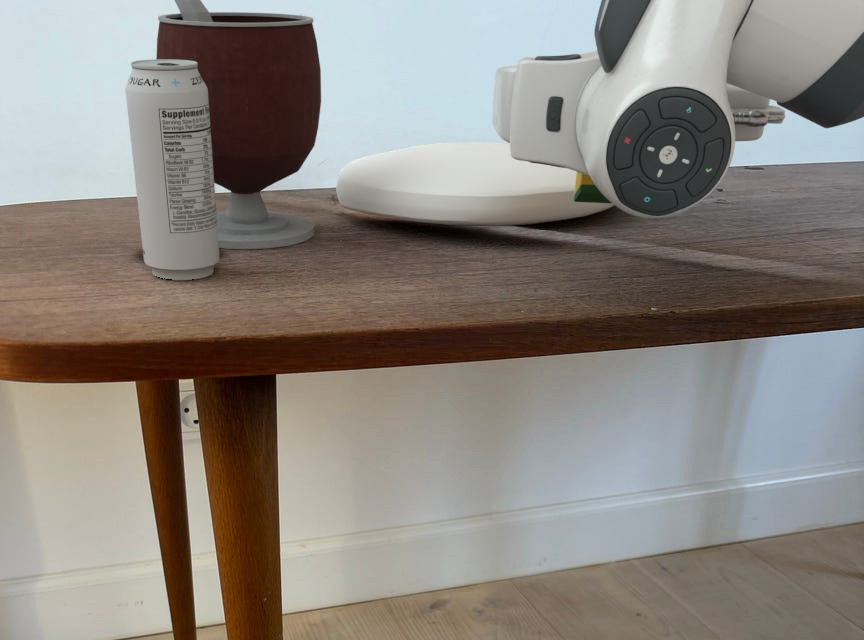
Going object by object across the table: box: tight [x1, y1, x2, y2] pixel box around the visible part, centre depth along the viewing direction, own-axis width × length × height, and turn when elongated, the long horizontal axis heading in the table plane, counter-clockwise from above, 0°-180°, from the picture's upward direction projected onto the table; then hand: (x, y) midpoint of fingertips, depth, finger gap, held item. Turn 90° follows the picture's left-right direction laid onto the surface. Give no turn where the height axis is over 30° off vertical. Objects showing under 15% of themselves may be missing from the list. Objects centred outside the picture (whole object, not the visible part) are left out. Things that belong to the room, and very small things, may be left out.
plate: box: [335, 141, 615, 227], centre depth 103 cm, size 28×6×27 cm
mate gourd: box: [155, 0, 322, 250], centre depth 92 cm, size 16×14×20 cm
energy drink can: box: [124, 59, 221, 281], centre depth 81 cm, size 6×6×15 cm
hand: (619, 90), depth 84 cm, fingers closed on dish wand, 3 cm apart
